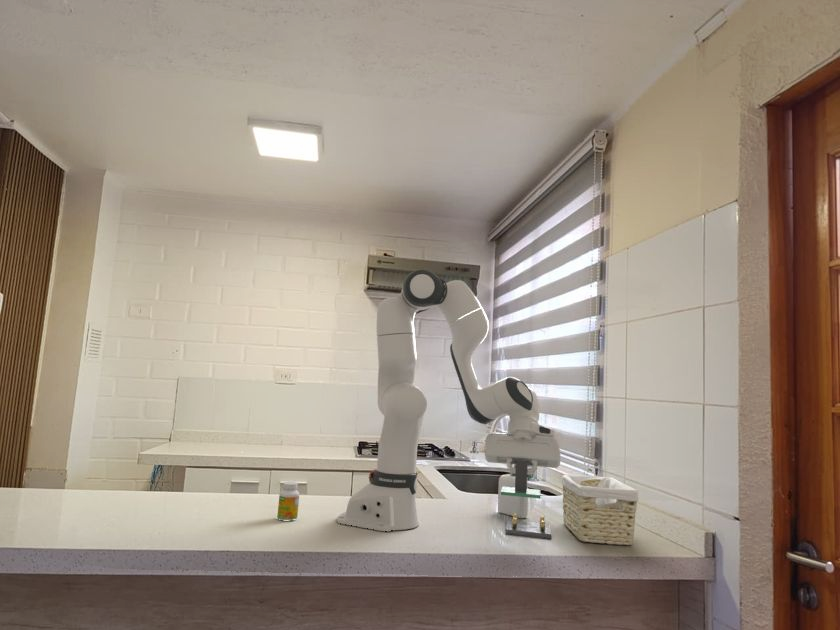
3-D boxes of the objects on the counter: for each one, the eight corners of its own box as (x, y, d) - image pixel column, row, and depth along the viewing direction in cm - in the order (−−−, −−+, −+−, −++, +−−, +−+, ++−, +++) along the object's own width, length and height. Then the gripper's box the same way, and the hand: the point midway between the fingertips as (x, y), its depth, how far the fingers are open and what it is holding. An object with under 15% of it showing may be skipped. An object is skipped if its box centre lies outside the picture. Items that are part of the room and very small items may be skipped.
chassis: (505, 533, 146) (506, 520, 147) (507, 523, 158) (508, 510, 159) (551, 538, 144) (551, 524, 144) (549, 528, 156) (549, 515, 156)
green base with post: (500, 494, 139) (501, 459, 140) (502, 489, 147) (503, 456, 148) (540, 498, 137) (541, 463, 138) (540, 492, 145) (540, 459, 146)
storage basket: (559, 522, 164) (560, 472, 166) (613, 526, 163) (613, 476, 165) (577, 544, 141) (578, 486, 143) (640, 549, 140) (640, 490, 142)
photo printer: (495, 512, 172) (496, 472, 174) (504, 510, 175) (505, 471, 176) (520, 519, 164) (521, 477, 166) (529, 518, 167) (530, 477, 168)
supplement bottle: (273, 520, 146) (276, 483, 147) (282, 516, 151) (286, 480, 152) (291, 522, 144) (294, 485, 146) (300, 518, 150) (303, 482, 151)
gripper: (486, 425, 153) (481, 465, 142) (560, 430, 149) (561, 471, 138) (486, 439, 157) (482, 479, 146) (559, 445, 152) (560, 486, 142)
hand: (521, 475), depth 142 cm, fingers closed on green base with post, 3 cm apart
